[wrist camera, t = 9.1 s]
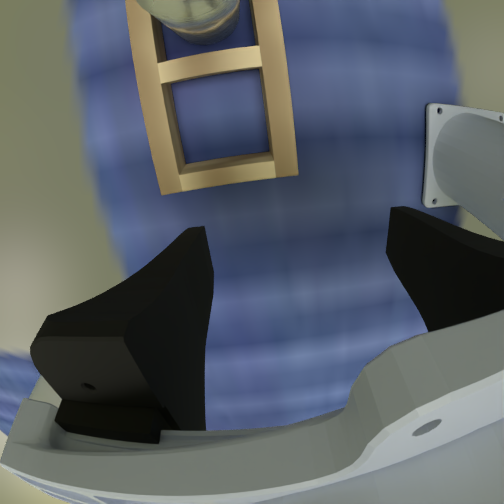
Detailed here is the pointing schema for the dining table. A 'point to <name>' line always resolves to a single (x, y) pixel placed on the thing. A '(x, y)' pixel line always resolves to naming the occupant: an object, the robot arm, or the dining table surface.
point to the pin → (196, 18)
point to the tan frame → (212, 63)
